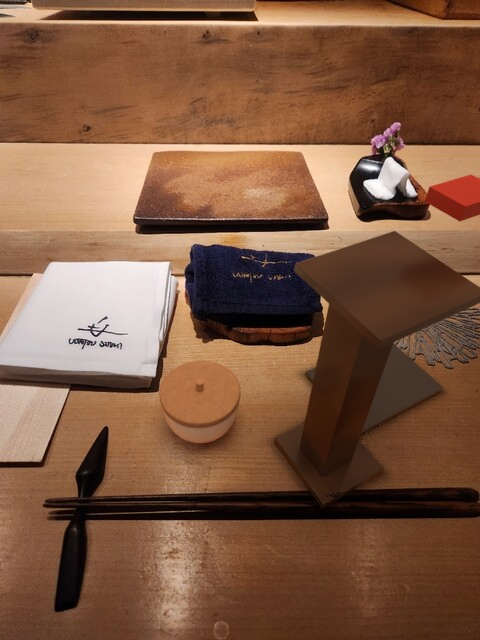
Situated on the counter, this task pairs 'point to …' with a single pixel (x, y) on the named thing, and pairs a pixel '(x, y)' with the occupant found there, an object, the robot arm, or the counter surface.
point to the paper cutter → (397, 388)
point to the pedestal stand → (363, 349)
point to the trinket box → (200, 400)
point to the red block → (456, 197)
